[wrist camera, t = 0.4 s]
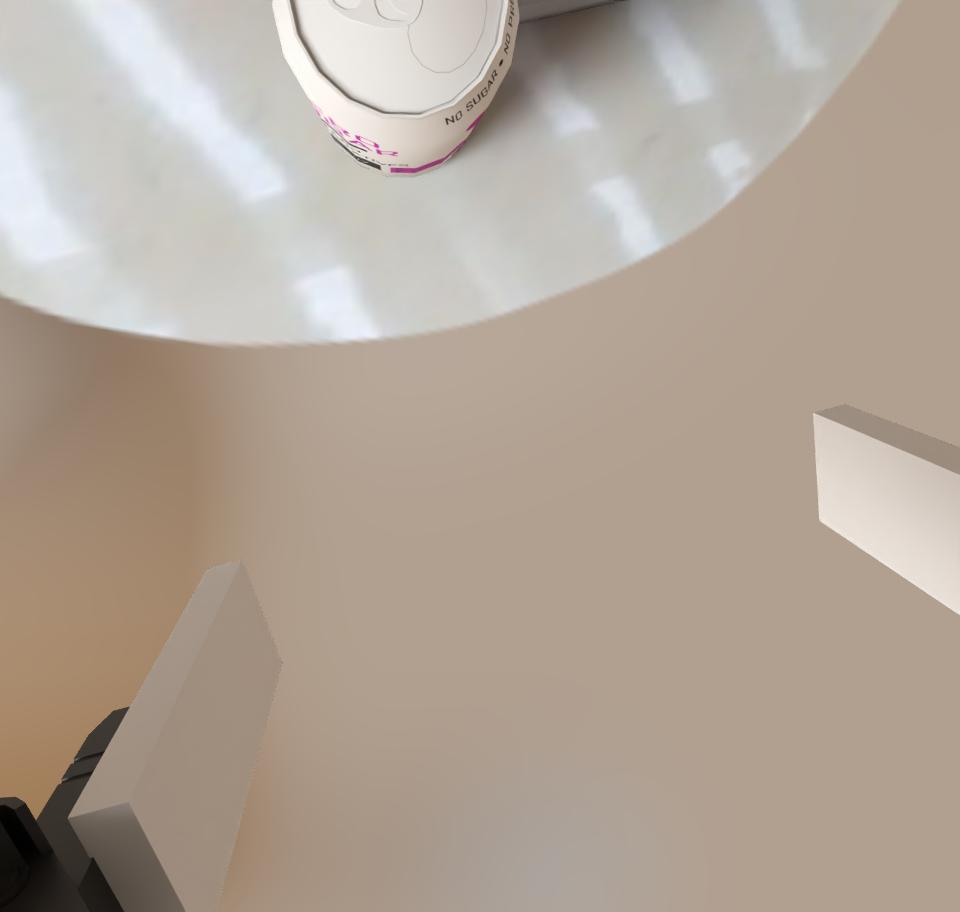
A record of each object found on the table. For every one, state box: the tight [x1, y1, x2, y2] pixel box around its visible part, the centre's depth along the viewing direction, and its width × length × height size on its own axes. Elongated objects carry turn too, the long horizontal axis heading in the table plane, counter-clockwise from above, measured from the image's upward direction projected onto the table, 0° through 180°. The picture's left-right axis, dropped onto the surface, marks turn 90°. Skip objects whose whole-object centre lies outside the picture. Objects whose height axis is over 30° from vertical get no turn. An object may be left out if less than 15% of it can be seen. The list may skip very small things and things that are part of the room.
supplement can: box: [272, 0, 520, 177], centre depth 28 cm, size 8×8×15 cm
